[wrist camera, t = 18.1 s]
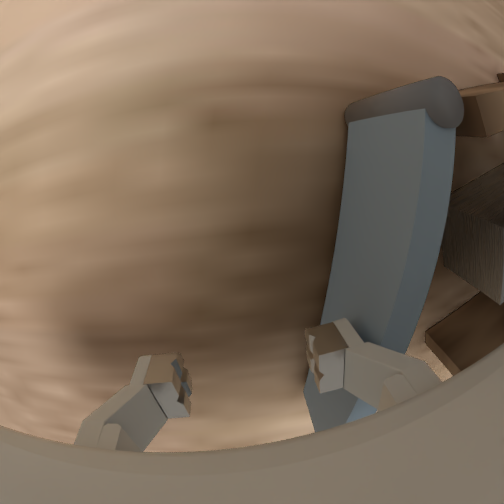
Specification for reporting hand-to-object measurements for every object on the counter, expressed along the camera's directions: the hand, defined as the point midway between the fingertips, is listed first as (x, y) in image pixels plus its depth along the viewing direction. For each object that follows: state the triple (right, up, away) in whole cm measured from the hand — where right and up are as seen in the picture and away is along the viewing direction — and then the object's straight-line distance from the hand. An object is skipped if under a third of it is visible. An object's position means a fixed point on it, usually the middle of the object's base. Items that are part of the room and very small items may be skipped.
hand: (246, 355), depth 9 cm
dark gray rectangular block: (+14, +6, +3) cm, 16 cm away
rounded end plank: (+4, +3, +3) cm, 6 cm away
